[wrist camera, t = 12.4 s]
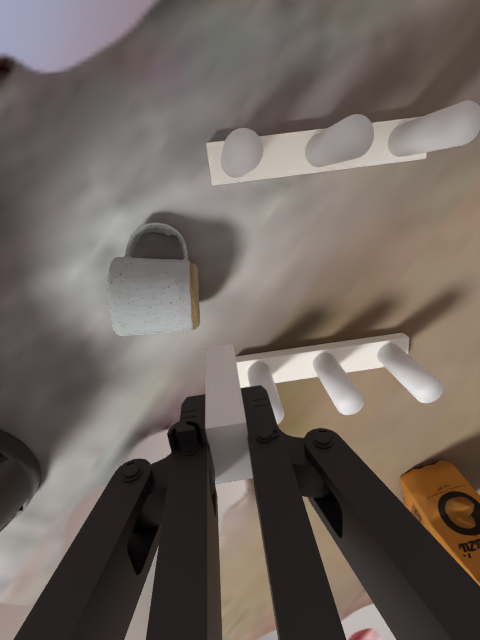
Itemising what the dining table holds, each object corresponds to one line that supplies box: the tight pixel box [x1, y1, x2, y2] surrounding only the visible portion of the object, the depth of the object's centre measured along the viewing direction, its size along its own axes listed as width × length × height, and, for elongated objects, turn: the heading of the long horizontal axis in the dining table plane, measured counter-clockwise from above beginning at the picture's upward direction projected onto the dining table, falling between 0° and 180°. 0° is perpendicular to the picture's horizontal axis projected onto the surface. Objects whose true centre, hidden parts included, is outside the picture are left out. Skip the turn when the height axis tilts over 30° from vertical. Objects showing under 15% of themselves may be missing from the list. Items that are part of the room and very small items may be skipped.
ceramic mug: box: [107, 222, 200, 336], centre depth 31 cm, size 11×8×8 cm
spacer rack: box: [206, 101, 480, 424], centre depth 31 cm, size 21×27×10 cm
